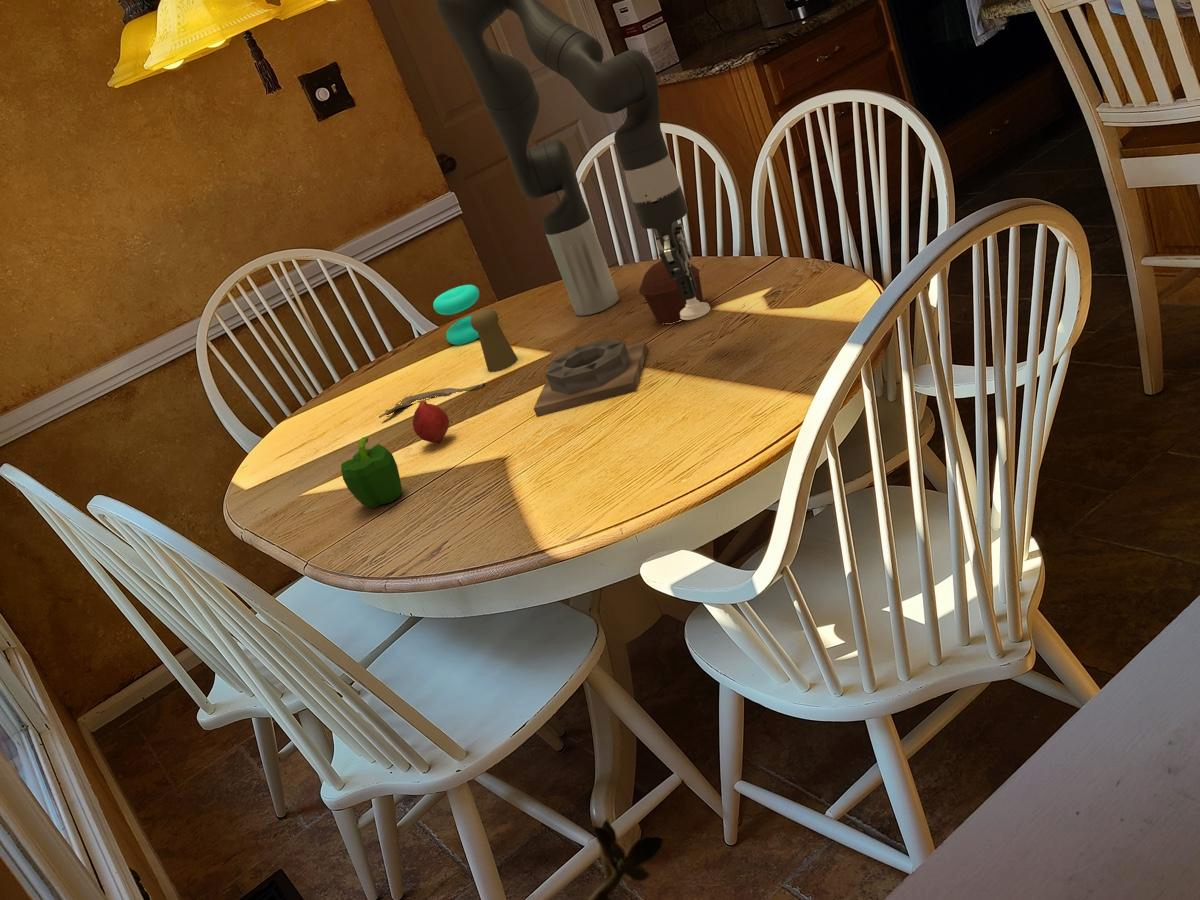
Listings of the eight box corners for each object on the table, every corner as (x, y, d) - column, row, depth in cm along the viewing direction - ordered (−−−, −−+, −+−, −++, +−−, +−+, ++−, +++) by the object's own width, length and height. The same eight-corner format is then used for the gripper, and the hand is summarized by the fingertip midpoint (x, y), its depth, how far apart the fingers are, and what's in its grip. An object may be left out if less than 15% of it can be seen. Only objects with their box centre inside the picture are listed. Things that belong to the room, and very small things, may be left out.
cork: (519, 353, 211) (498, 301, 207) (515, 366, 206) (493, 312, 202) (490, 362, 213) (469, 310, 208) (485, 375, 207) (462, 321, 203)
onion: (429, 454, 181) (410, 412, 178) (418, 446, 186) (399, 404, 183) (460, 438, 183) (441, 395, 180) (449, 430, 188) (430, 389, 185)
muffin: (653, 311, 207) (636, 261, 203) (710, 294, 204) (694, 244, 200) (648, 334, 196) (630, 282, 192) (708, 317, 194) (691, 264, 190)
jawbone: (388, 411, 212) (384, 401, 211) (489, 376, 210) (485, 366, 210) (382, 425, 203) (377, 415, 202) (487, 389, 202) (483, 379, 201)
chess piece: (676, 322, 174) (657, 263, 170) (685, 309, 178) (666, 251, 174) (705, 316, 172) (686, 257, 168) (714, 303, 176) (695, 245, 171)
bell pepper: (387, 514, 165) (359, 457, 161) (349, 514, 170) (321, 459, 166) (421, 484, 171) (395, 428, 167) (384, 485, 176) (358, 430, 172)
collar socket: (556, 373, 195) (547, 350, 193) (647, 349, 190) (639, 325, 188) (536, 416, 180) (526, 392, 178) (635, 391, 175) (626, 365, 173)
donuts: (485, 282, 228) (448, 303, 223) (503, 326, 232) (466, 348, 227) (458, 282, 235) (422, 303, 230) (476, 325, 239) (440, 346, 234)
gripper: (637, 185, 173) (670, 286, 181) (626, 211, 161) (662, 318, 169) (683, 171, 171) (715, 273, 178) (675, 196, 159) (710, 305, 166)
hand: (689, 295), depth 173 cm, fingers closed on chess piece
